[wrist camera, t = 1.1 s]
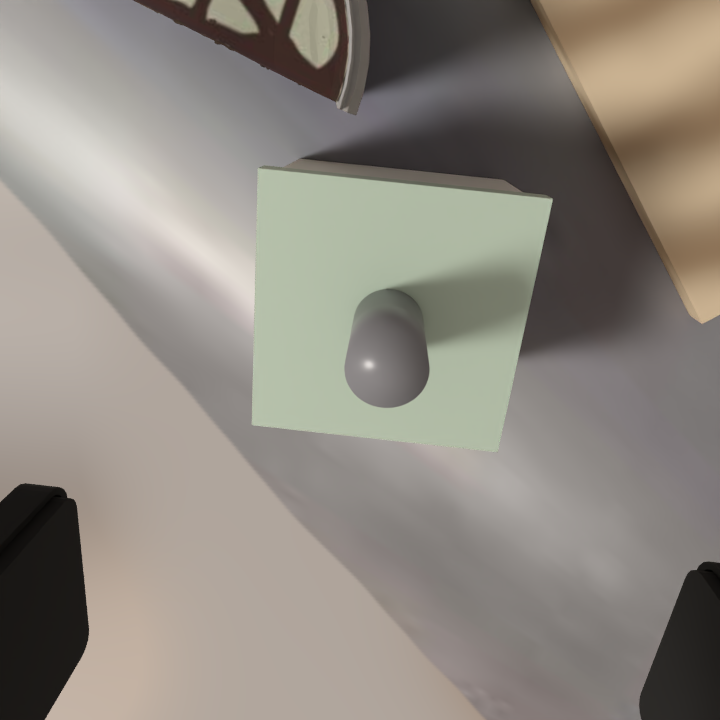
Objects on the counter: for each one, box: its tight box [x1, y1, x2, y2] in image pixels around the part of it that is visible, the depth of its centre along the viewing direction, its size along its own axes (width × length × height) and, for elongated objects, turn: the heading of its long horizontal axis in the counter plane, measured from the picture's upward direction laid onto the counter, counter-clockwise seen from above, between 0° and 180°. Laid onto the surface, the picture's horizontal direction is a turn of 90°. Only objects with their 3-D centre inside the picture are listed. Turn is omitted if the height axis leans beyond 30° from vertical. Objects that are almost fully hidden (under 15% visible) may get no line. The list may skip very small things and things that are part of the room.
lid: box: [252, 166, 553, 452], centre depth 24 cm, size 12×12×7 cm
